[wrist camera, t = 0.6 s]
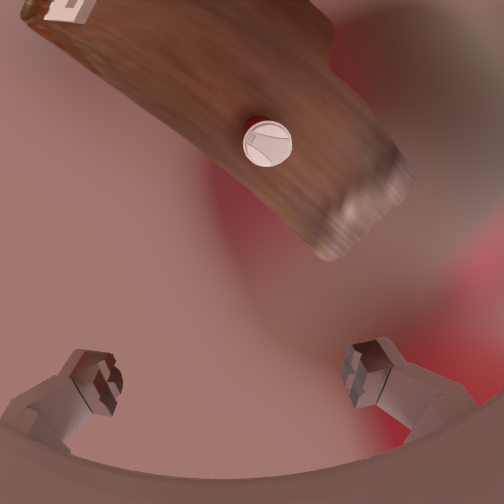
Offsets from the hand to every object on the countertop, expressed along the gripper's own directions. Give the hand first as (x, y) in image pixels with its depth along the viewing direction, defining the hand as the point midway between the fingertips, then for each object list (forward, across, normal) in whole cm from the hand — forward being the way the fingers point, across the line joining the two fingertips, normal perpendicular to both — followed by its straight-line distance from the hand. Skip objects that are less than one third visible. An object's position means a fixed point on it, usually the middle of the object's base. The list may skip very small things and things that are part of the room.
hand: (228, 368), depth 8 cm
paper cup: (+49, -6, -13) cm, 51 cm away
